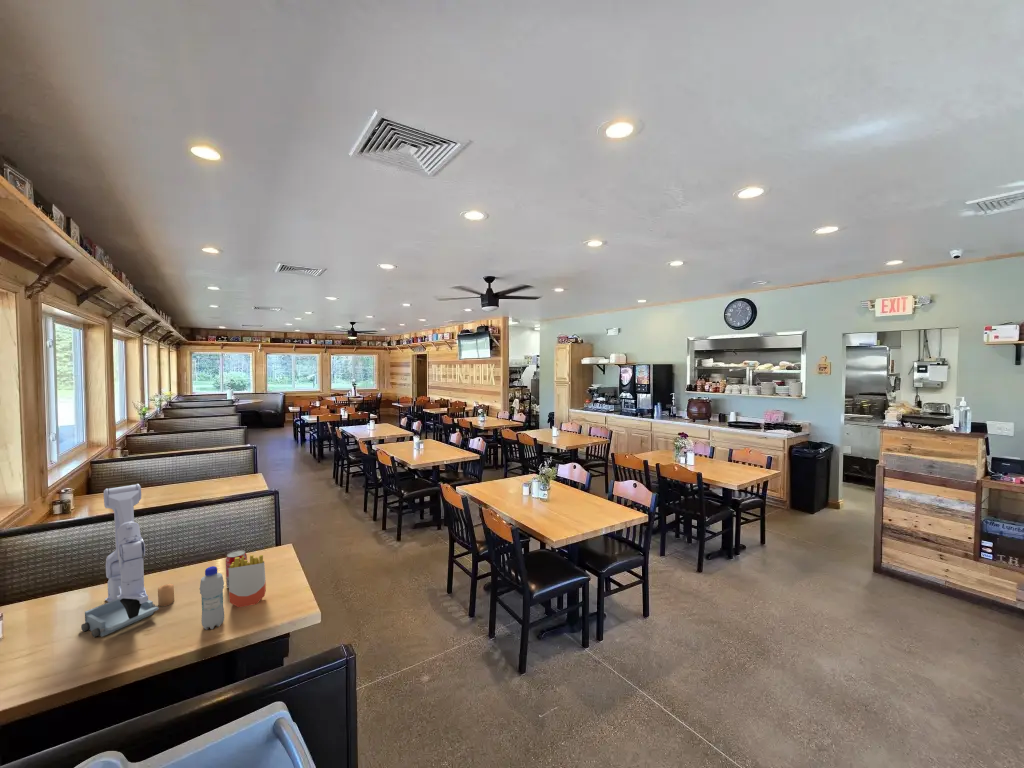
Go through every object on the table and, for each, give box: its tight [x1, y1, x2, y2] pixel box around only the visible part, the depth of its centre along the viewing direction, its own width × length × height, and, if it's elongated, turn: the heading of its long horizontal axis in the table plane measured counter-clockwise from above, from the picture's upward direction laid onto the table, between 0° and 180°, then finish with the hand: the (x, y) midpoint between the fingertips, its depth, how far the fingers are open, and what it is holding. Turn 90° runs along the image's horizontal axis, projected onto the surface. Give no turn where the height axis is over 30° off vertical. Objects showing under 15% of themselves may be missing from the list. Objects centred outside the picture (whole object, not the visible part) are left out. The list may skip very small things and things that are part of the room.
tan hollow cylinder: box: [157, 583, 175, 607], centre depth 159 cm, size 5×5×7 cm
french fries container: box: [228, 554, 267, 608], centre depth 159 cm, size 5×11×18 cm, turn 113°
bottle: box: [199, 565, 225, 630], centre depth 145 cm, size 7×7×20 cm
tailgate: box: [105, 606, 159, 630], centre depth 144 cm, size 1×13×4 cm
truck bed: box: [80, 599, 158, 638], centre depth 147 cm, size 12×17×6 cm
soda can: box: [225, 549, 248, 589], centre depth 171 cm, size 7×7×13 cm
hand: (133, 617), depth 144 cm, fingers closed, pressing on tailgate
